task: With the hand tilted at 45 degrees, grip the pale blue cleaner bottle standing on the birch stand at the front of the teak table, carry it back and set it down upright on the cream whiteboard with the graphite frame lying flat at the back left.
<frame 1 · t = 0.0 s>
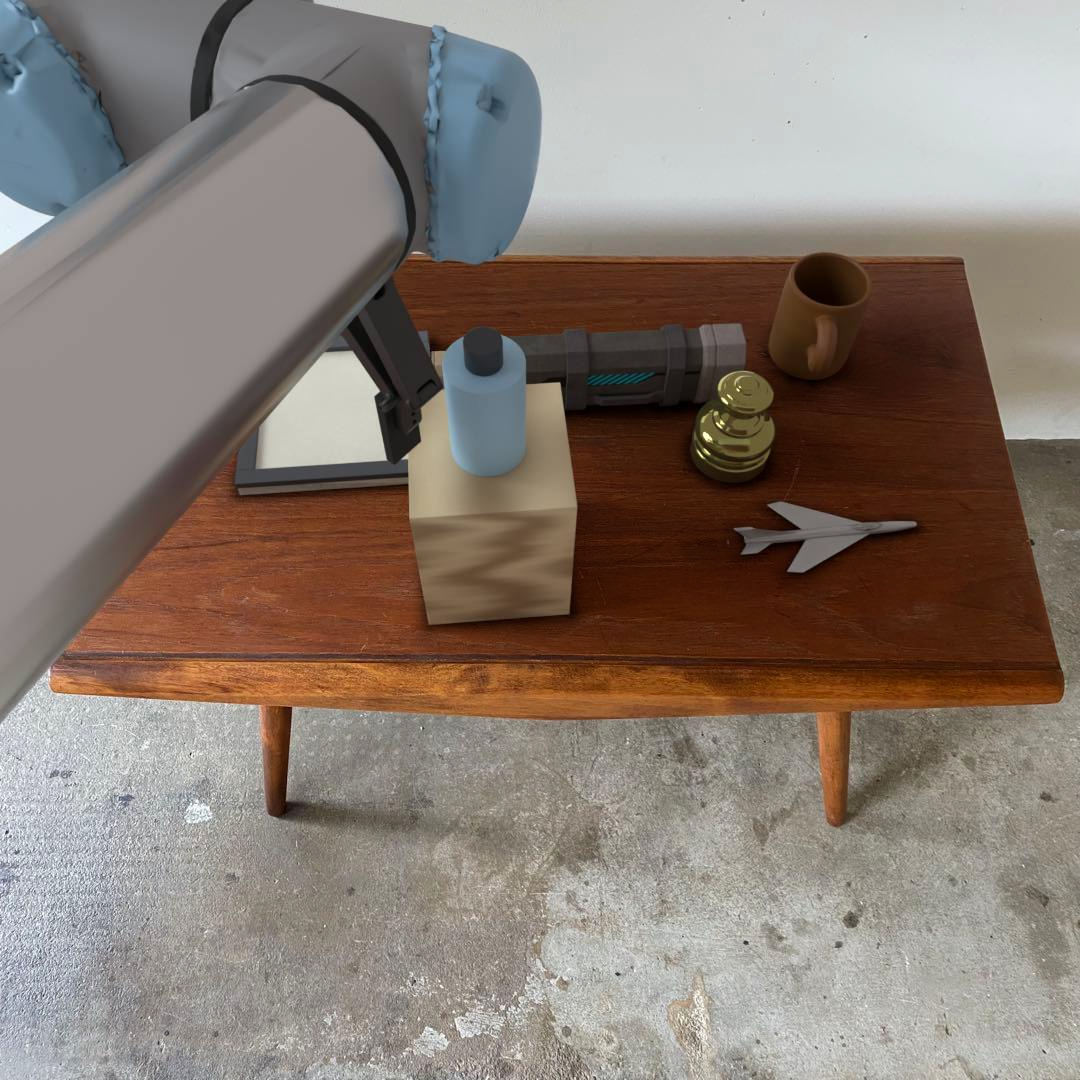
hand: (335, 403, 69), 20 cm above the table, tool pointing down, fingers open, 13 cm apart
whiteboard: (339, 415, 94), on the table
stand: (494, 560, 85), on the table
brass weight: (727, 455, 92), on the table
mug: (804, 372, 98), on the table
tube: (583, 401, 96), on the table
toy airplane: (803, 539, 87), on the table
cleaner bottle: (488, 446, 72), point 16 cm above the table, touching stand
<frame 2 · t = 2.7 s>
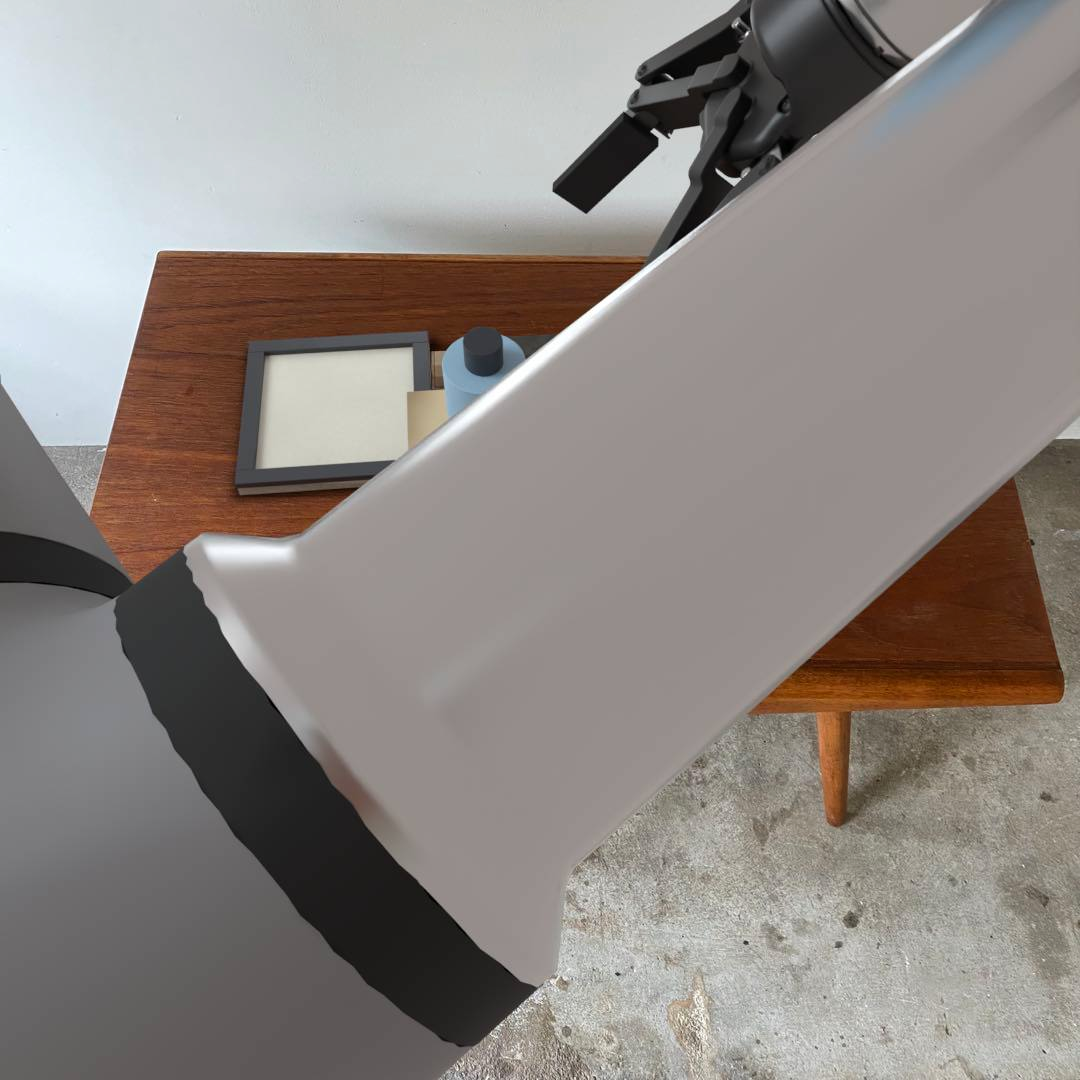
hand: (563, 279, 56), 34 cm above the table, tool tilted 35°, fingers open, 13 cm apart
nothing on the table moved.
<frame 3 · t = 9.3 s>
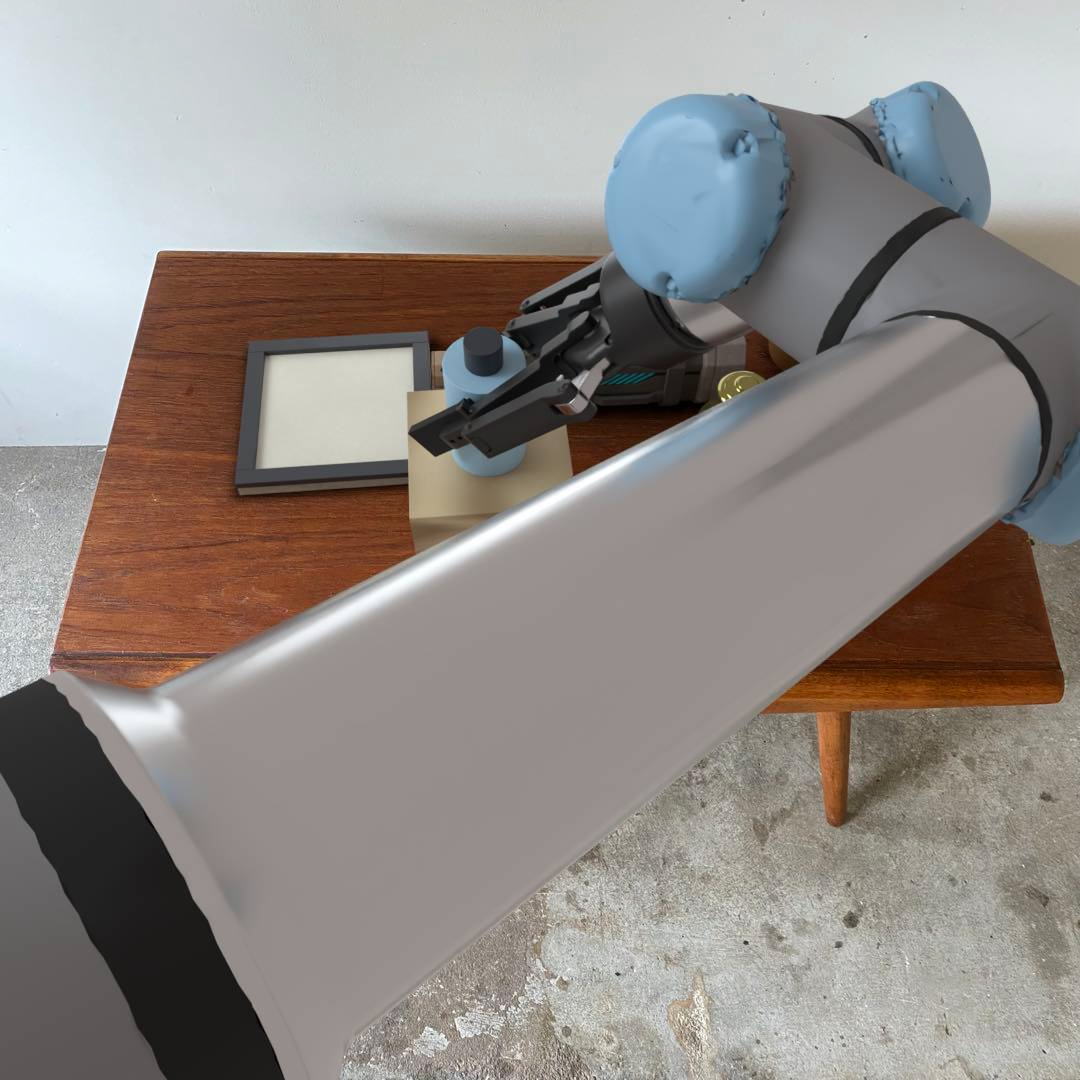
hand: (439, 409, 70), 19 cm above the table, tool tilted 45°, fingers closed on cleaner bottle, 6 cm apart
cleaner bottle: (488, 446, 72), point 16 cm above the table, touching gripper, stand
everything else where it was.
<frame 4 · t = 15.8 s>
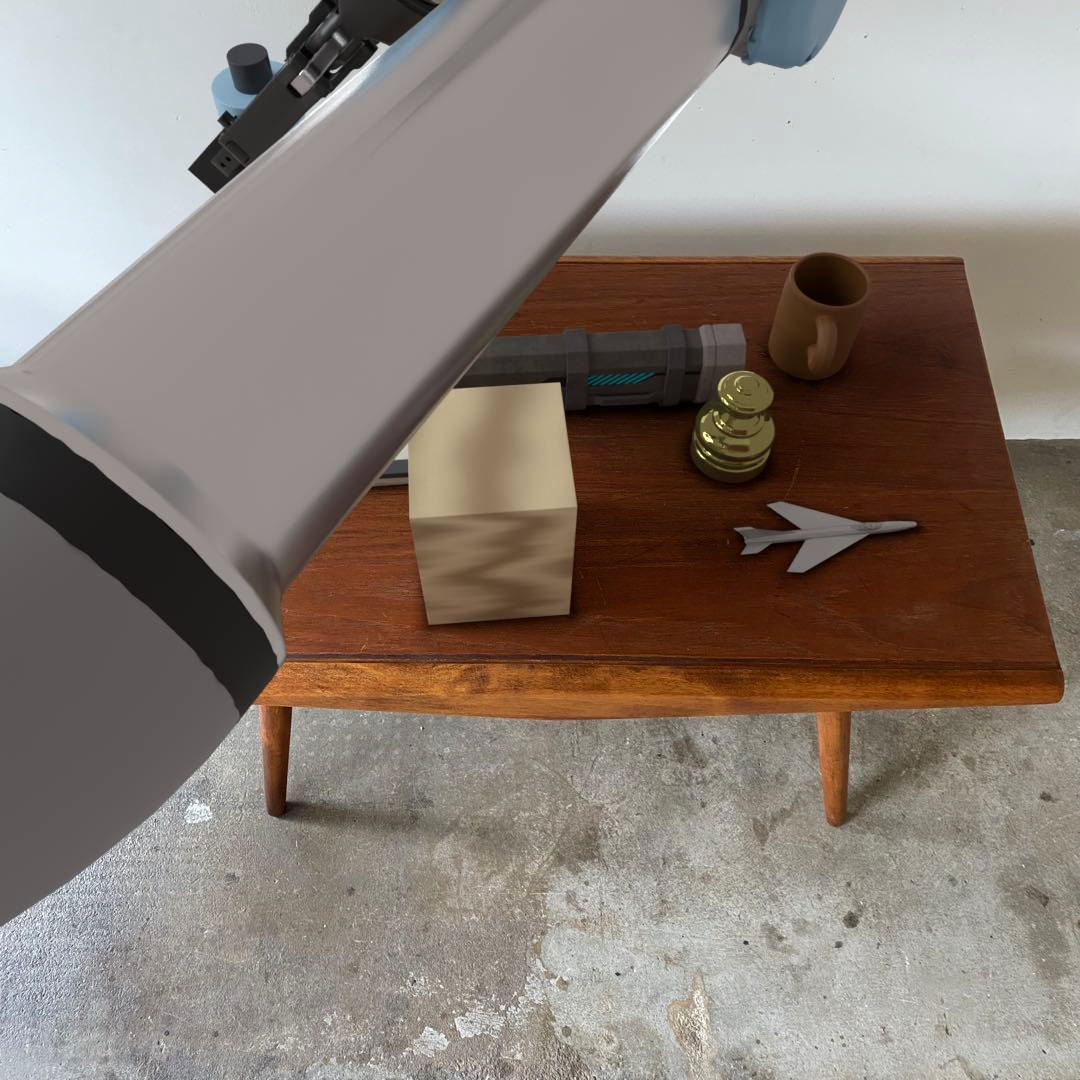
hand: (228, 153, 69), 30 cm above the table, tool tilted 45°, fingers closed on cleaner bottle, 6 cm apart
cleaner bottle: (283, 199, 71), point 27 cm above the table, touching gripper
everything else where it was.
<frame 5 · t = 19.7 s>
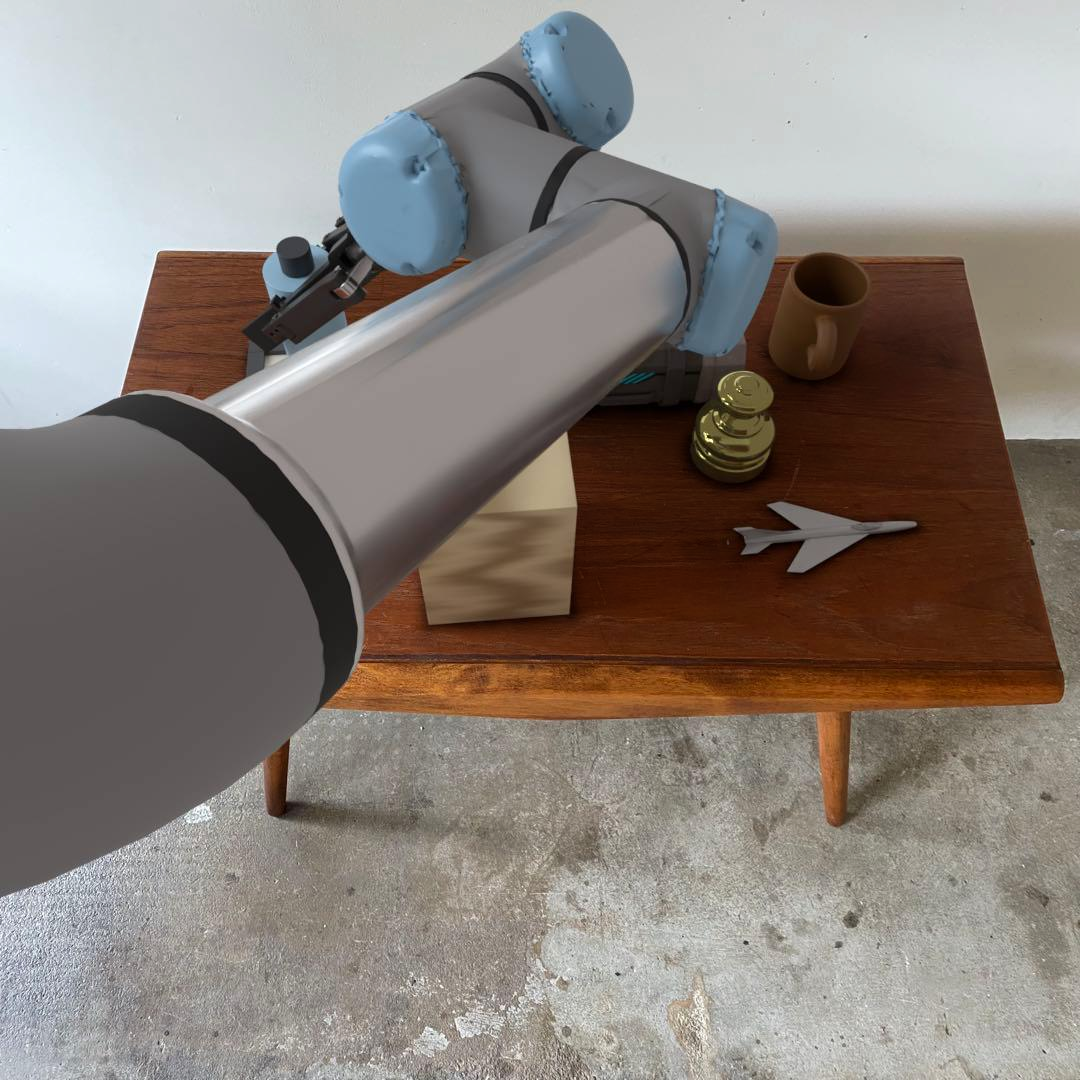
hand: (273, 313, 82), 14 cm above the table, tool tilted 45°, fingers closed on cleaner bottle, 6 cm apart
cleaner bottle: (319, 348, 84), point 11 cm above the table, touching gripper
everything else where it was.
when the fingers open (4 cm above the table, at t = 22.7 s): cleaner bottle stays where it is, resting on whiteboard.
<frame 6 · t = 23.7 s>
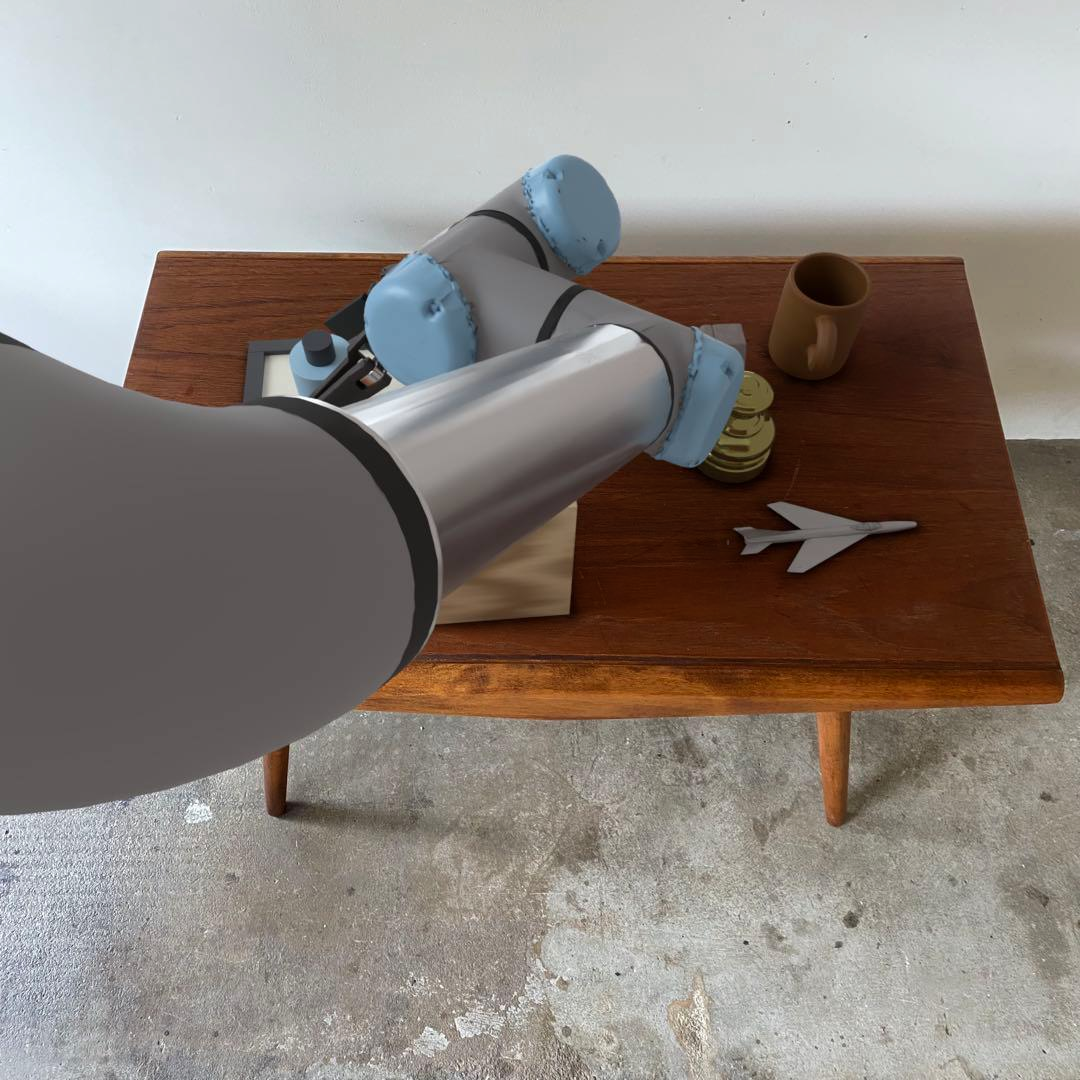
hand: (304, 381, 88), 6 cm above the table, tool tilted 45°, fingers open, 13 cm apart
cleaner bottle: (338, 422, 92), point 1 cm above the table, touching whiteboard
everything else where it was.
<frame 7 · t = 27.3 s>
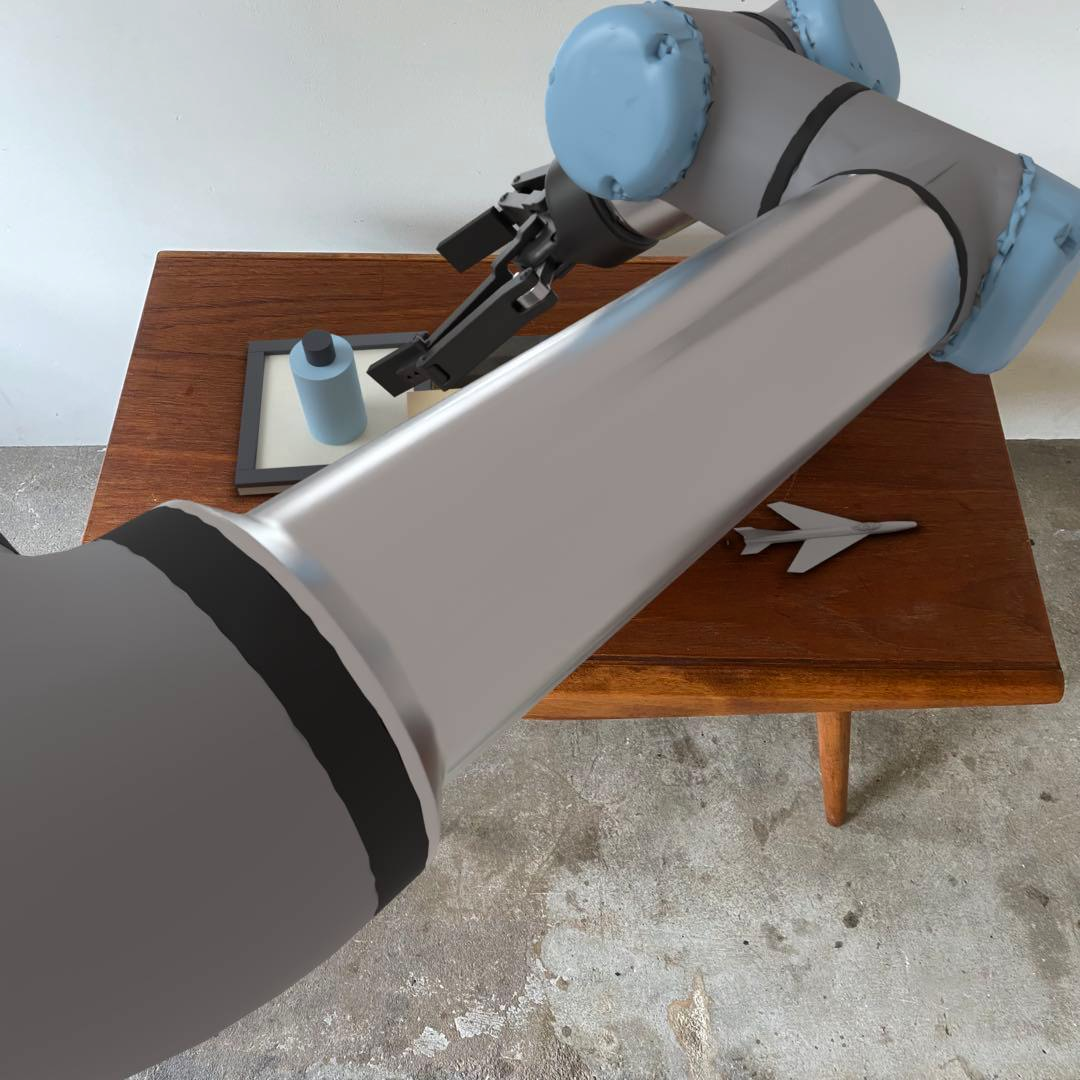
hand: (417, 317, 72), 21 cm above the table, tool tilted 45°, fingers open, 13 cm apart
nothing on the table moved.
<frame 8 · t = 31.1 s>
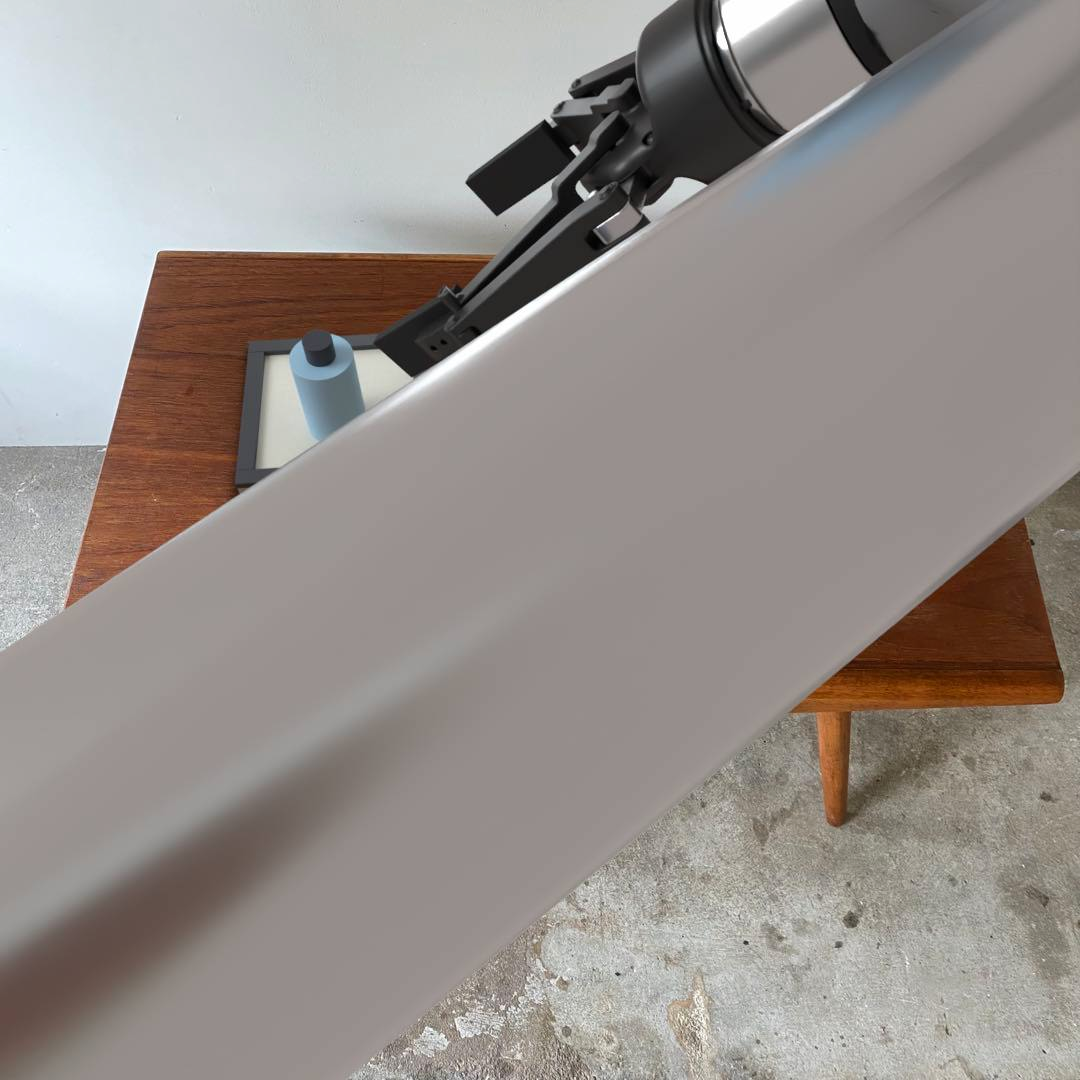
hand: (441, 270, 53), 36 cm above the table, tool tilted 45°, fingers open, 13 cm apart
nothing on the table moved.
at the end: cleaner bottle inside the target area on the whiteboard (2.0 cm from its centre), point 1.2 cm above the whiteboard's base; cleaner bottle tilted 0°; the gripper is holding nothing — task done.
